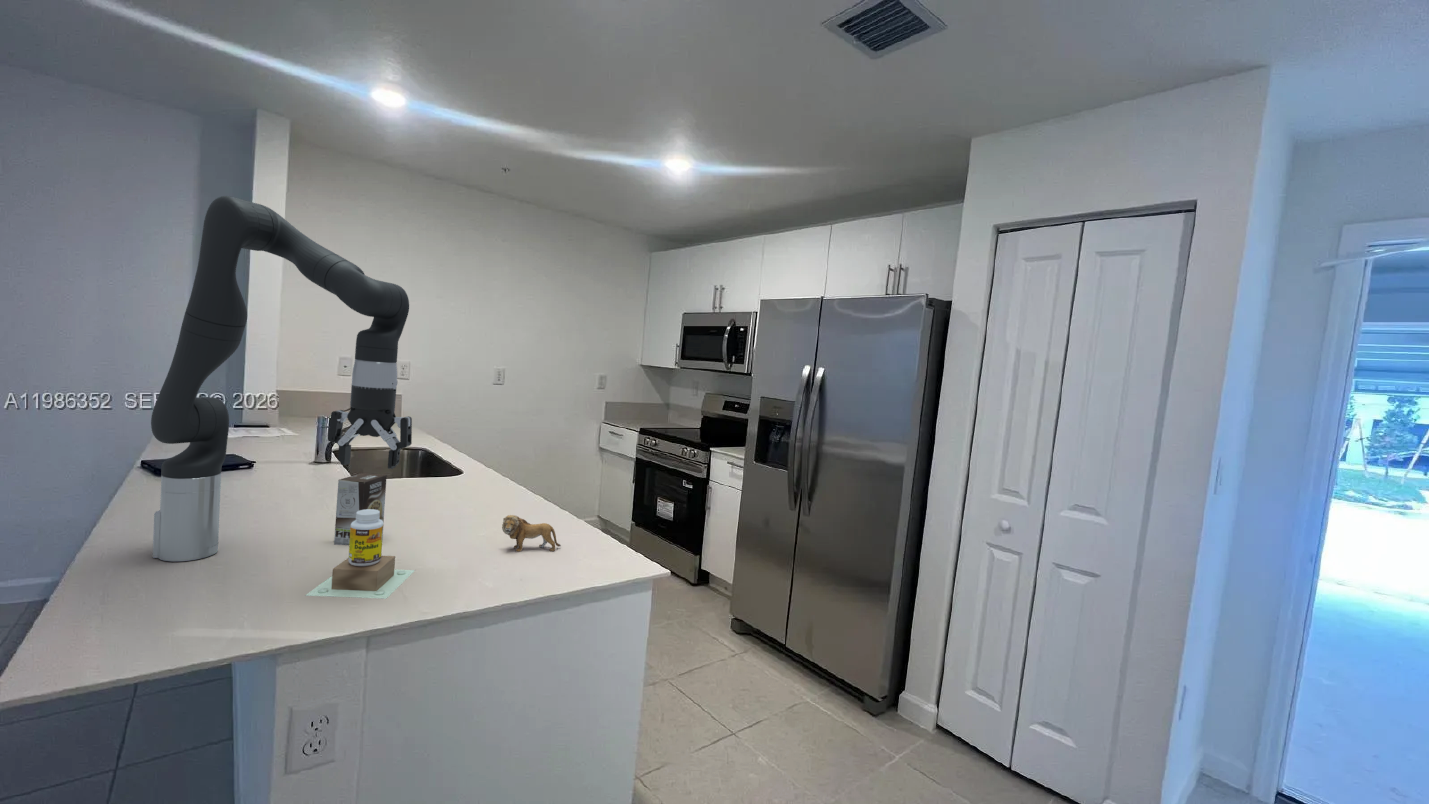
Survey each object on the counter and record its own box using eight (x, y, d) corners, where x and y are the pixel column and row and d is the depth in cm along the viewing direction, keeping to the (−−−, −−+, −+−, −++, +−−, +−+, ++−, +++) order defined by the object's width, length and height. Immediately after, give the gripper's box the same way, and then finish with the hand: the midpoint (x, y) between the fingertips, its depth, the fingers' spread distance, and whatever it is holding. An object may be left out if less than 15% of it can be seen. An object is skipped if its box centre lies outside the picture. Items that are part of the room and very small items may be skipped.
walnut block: (331, 589, 108) (332, 568, 107) (352, 573, 115) (353, 554, 115) (376, 591, 109) (377, 570, 108) (394, 575, 117) (395, 556, 116)
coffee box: (360, 550, 130) (364, 482, 129) (332, 547, 131) (336, 479, 129) (384, 538, 140) (388, 474, 138) (358, 535, 140) (362, 471, 139)
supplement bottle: (348, 569, 108) (351, 516, 107) (348, 558, 113) (350, 508, 112) (382, 565, 111) (385, 514, 110) (380, 556, 116) (383, 507, 115)
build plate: (304, 601, 104) (305, 593, 104) (343, 572, 118) (343, 565, 118) (386, 604, 106) (386, 596, 106) (414, 575, 120) (415, 568, 120)
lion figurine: (501, 554, 137) (503, 518, 136) (499, 547, 142) (501, 512, 141) (562, 551, 144) (565, 516, 143) (558, 544, 148) (561, 510, 148)
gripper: (324, 381, 105) (318, 467, 106) (405, 389, 107) (399, 473, 108) (344, 379, 113) (339, 459, 114) (420, 387, 115) (414, 465, 116)
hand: (368, 466), depth 111 cm, fingers open, 8 cm apart
